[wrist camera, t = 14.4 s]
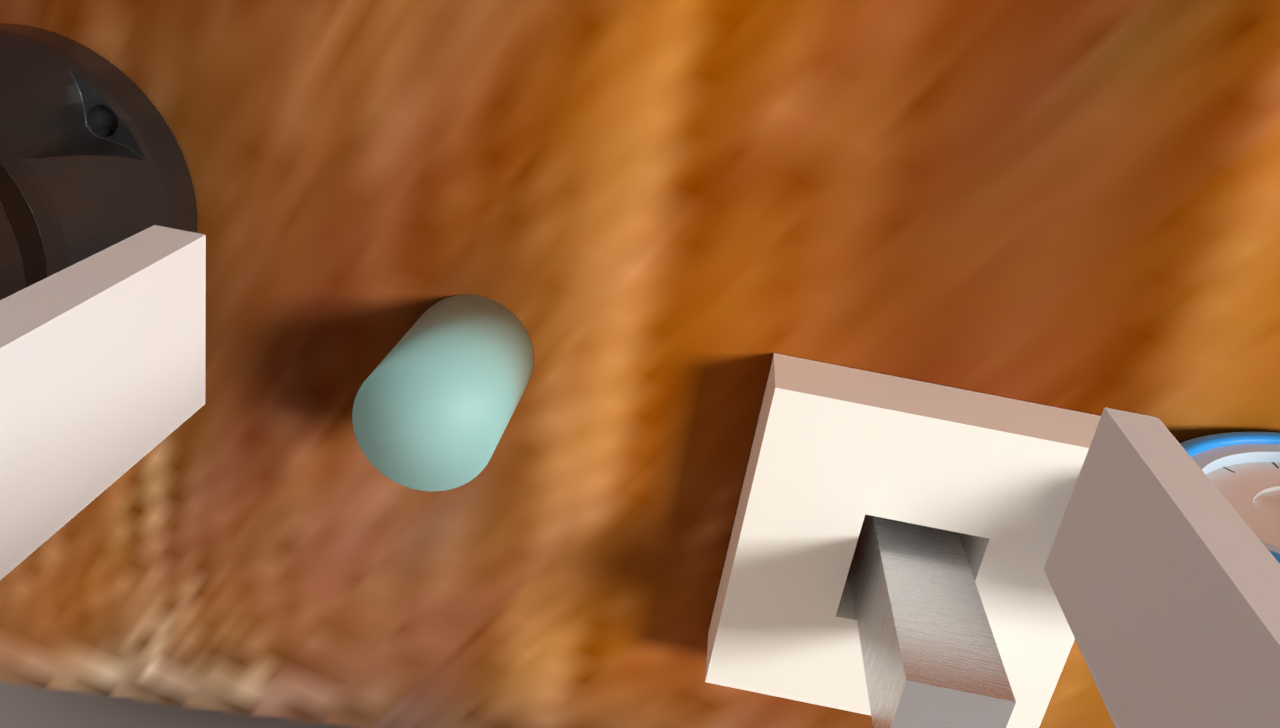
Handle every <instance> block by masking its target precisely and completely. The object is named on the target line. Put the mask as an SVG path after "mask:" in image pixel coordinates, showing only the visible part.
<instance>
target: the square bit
mask: <svg viewBox="0 0 1280 728" xmlns="http://www.w3.org/2000/svg"><path fill="white" fill-rule="evenodd" d="M849 571H850V577H851V584H852V591H853V597H854V604H855V611H856V617H857V624H858V631H859V637H860V644H861V651H862V657H863V664H864V671H865V677H866V684H867V691H868V697H869V704H870V711H871V717H872V724H873V728H1006V727H1007V724H1008V722H1009V719H1010V716H1011V714H1012V711H1013V709H1014V706H1015V704H1016V701H1015V698H1014V695H1013V692H1012V689H1011V686H1010V683H1009V680H1008V677H1007V674H1006V671H1005V668H1004V665H1003V662H1002V659H1001V656H1000V654H999V651H998V648H997V645H996V642H995V639H994V636H993V633H992V630H991V627H990V624H989V621H988V618H987V615H986V612H985V609H984V607H983V604H982V601H981V598H980V595H979V592H978V589H977V586H976V583H975V580H974V577H973V574H972V571H971V568H970V565H969V562H968V560H967V557H966V554H965V551H964V548H963V545H962V542H961V539H960V536H959V533H958V532H952V531H947V530H942V529H937V528H932V527H927V526H922V525H917V524H912V523H907V522H902V521H896V520H891V519H886V518H881V517H876V516H871V515H866V514H865V517H864V521H863V524H862V528H861V531H860V534H859V538H858V541H857V545H856V548H855V552H854V555H853V559H852V562H851V565H850V569H849Z"/></svg>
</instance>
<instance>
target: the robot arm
mask: <svg viewBox="0 0 1280 728" xmlns="http://www.w3.org/2000/svg"><path fill="white" fill-rule="evenodd" d="M205 290H206V235H204V234H199V233H197V210H196V201H195V195H194V190H193V185H192V181H191V177H190V174H189V171H188V168H187V165H186V162H185V159H184V157H183V154H182V152H181V150H180V148H179V146H178V143H177V141H176V139H175V137H174V136H173V134H172V132H171V130H170V128H169V127H168V125H167V124H166V122H165V121H164V119H163V117H162V116H161V114H160V113H159V112H158V110H157V109H156V108H155V106H154V105H153V104H152V103H151V101H150V100H149V99H148V98H147V96H146V95H145V94H144V93H143V92H142V91H141V90H140V89H139V88H138V87H137V86H136V84H135V83H133V82H132V81H131V80H130V79H129V78H128V77H127V76H126V75H125V74H124V73H123V72H121V71H120V70H119V69H118V68H117V67H115V66H114V65H113V64H111V63H110V62H109V61H107V60H106V59H105V58H103V57H102V56H100V55H99V54H97V53H95V52H94V51H92V50H91V49H89V48H87V47H85V46H83V45H81V44H80V43H78V42H75V41H73V40H71V39H69V38H67V37H64V36H61V35H59V34H56V33H53V32H50V31H47V30H43V29H39V28H35V27H30V26H24V25H16V24H0V580H1V579H2V578H3V577H5V576H6V575H7V574H8V573H9V572H10V571H12V570H13V569H14V568H15V567H16V566H17V565H19V564H20V563H21V562H22V561H23V560H24V559H26V558H27V557H28V556H29V555H30V554H31V553H33V552H34V551H35V550H36V549H37V548H38V547H40V546H41V545H42V544H43V543H44V542H45V541H46V540H48V539H49V538H50V537H51V536H52V535H53V534H55V533H56V532H57V531H58V530H59V529H60V528H62V527H63V526H64V525H65V524H66V523H67V522H69V521H70V520H71V519H72V518H73V517H74V516H76V515H77V514H78V513H79V512H80V511H81V510H83V509H84V508H85V507H86V506H87V505H88V504H90V503H91V502H92V501H93V500H94V499H95V498H96V497H98V496H99V495H100V494H101V493H102V492H103V491H105V490H106V489H107V488H108V487H109V486H110V485H112V484H113V483H114V482H115V481H116V480H117V479H119V478H120V477H121V476H122V475H123V474H124V473H126V472H127V471H128V470H129V469H130V468H131V467H133V466H134V465H135V464H136V463H137V462H138V461H140V460H141V459H142V458H143V457H144V456H145V455H146V454H148V453H149V452H150V451H151V450H152V449H153V448H155V447H156V446H157V445H158V444H159V443H160V442H162V441H163V440H164V439H165V438H166V437H167V436H169V435H170V434H171V433H172V432H173V431H174V430H176V429H177V428H178V427H179V426H180V425H181V424H183V423H184V422H185V421H186V420H187V419H188V418H189V417H191V416H192V415H193V414H194V413H195V412H196V411H198V410H199V409H200V408H201V407H202V406H203V405H205ZM1044 571H1045V574H1046V576H1047V578H1048V580H1049V582H1050V585H1051V587H1052V589H1053V591H1054V593H1055V596H1056V598H1057V600H1058V602H1059V604H1060V607H1061V609H1062V611H1063V613H1064V615H1065V618H1066V620H1067V622H1068V624H1069V626H1070V629H1071V631H1072V633H1073V635H1074V637H1075V640H1076V642H1077V644H1078V646H1079V649H1080V651H1081V653H1082V655H1083V657H1084V660H1085V662H1086V664H1087V666H1088V668H1089V671H1090V673H1091V675H1092V677H1093V679H1094V682H1095V684H1096V686H1097V688H1098V690H1099V693H1100V695H1101V697H1102V699H1103V701H1104V704H1105V706H1106V708H1107V710H1108V712H1109V715H1110V717H1111V719H1112V721H1113V723H1114V726H1115V728H1280V563H1279V562H1278V561H1277V560H1276V559H1275V557H1274V556H1273V555H1272V554H1271V553H1270V551H1269V550H1268V549H1267V548H1266V547H1265V545H1264V544H1263V543H1262V542H1261V541H1260V539H1259V538H1258V537H1257V536H1256V535H1255V533H1254V532H1253V531H1252V530H1251V529H1250V527H1249V526H1248V525H1247V524H1246V523H1245V521H1244V520H1243V519H1242V518H1241V517H1240V515H1239V514H1238V513H1237V512H1236V511H1235V509H1234V508H1233V507H1232V506H1231V505H1230V503H1229V502H1228V501H1227V500H1226V498H1225V497H1224V496H1223V495H1222V494H1221V492H1220V491H1219V490H1218V489H1217V488H1216V486H1215V485H1214V484H1213V483H1212V482H1211V480H1210V479H1209V478H1208V477H1207V476H1206V474H1205V473H1204V472H1203V471H1202V470H1201V468H1200V467H1199V466H1198V465H1197V464H1196V462H1195V461H1194V460H1193V459H1192V458H1191V456H1190V455H1189V454H1188V453H1187V452H1186V450H1185V449H1184V448H1183V447H1182V446H1181V444H1180V443H1179V442H1178V441H1177V440H1176V438H1175V437H1174V436H1173V435H1172V434H1171V432H1170V431H1169V430H1168V429H1167V428H1166V426H1165V425H1164V424H1163V423H1162V421H1161V420H1160V419H1159V418H1157V417H1152V416H1146V415H1141V414H1136V413H1131V412H1126V411H1120V410H1115V409H1110V408H1104V410H1103V413H1102V416H1101V418H1100V421H1099V424H1098V426H1097V429H1096V432H1095V434H1094V437H1093V439H1092V442H1091V445H1090V447H1089V450H1088V453H1087V455H1086V458H1085V461H1084V463H1083V466H1082V469H1081V471H1080V474H1079V476H1078V479H1077V482H1076V484H1075V487H1074V490H1073V492H1072V495H1071V498H1070V500H1069V503H1068V506H1067V508H1066V511H1065V513H1064V516H1063V519H1062V521H1061V524H1060V527H1059V529H1058V532H1057V535H1056V537H1055V540H1054V543H1053V545H1052V548H1051V550H1050V553H1049V556H1048V558H1047V561H1046V564H1045V566H1044Z"/></svg>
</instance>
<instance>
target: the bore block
mask: <svg viewBox="0 0 1280 728" xmlns="http://www.w3.org/2000/svg"><path fill="white" fill-rule="evenodd" d="M1100 418H1101V416H1098V415H1093V414H1088V413H1083V412H1078V411H1072V410H1067V409H1062V408H1057V407H1052V406H1046V405H1041V404H1036V403H1031V402H1026V401H1020V400H1015V399H1010V398H1005V397H1000V396H994V395H989V394H984V393H979V392H974V391H968V390H963V389H958V388H953V387H948V386H942V385H937V384H932V383H927V382H922V381H916V380H911V379H906V378H901V377H896V376H890V375H885V374H880V373H875V372H870V371H864V370H859V369H854V368H849V367H844V366H838V365H833V364H828V363H823V362H818V361H812V360H807V359H802V358H797V357H792V356H786V355H781V354H776V353H774V355H773V359H772V363H771V367H770V372H769V376H768V380H767V384H766V389H765V393H764V397H763V401H762V406H761V410H760V414H759V418H758V423H757V427H756V431H755V436H754V440H753V444H752V448H751V453H750V457H749V461H748V465H747V470H746V474H745V478H744V482H743V487H742V491H741V495H740V499H739V504H738V508H737V512H736V516H735V521H734V525H733V529H732V534H731V538H730V542H729V546H728V551H727V555H726V559H725V563H724V568H723V572H722V576H721V580H720V585H719V589H718V593H717V597H716V602H715V606H714V610H713V614H712V619H711V623H710V627H709V632H708V646H707V662H706V677H705V682H708V683H713V684H718V685H723V686H727V687H732V688H737V689H742V690H747V691H752V692H757V693H762V694H767V695H772V696H777V697H782V698H787V699H792V700H797V701H802V702H807V703H812V704H817V705H822V706H827V707H831V708H836V709H841V710H846V711H851V712H856V713H861V714H866V715H871V711H870V704H869V697H868V691H867V684H866V677H865V671H864V664H863V657H862V651H861V644H860V637H859V631H858V624H857V617H856V611H855V604H854V597H853V591H852V584H851V577H850V572H849V569H850V565H851V562H852V559H853V555H854V552H855V548H856V545H857V541H858V538H859V534H860V531H861V528H862V524H863V521H864V517H865V514H866V515H871V516H876V517H881V518H886V519H891V520H896V521H902V522H907V523H912V524H917V525H922V526H927V527H932V528H937V529H942V530H947V531H952V532H958V533H960V534H959V536H960V539H961V542H962V545H963V548H964V551H965V554H966V557H967V560H968V562H969V565H970V568H971V571H972V574H973V577H974V580H975V583H976V586H977V589H978V592H979V595H980V598H981V601H982V604H983V607H984V609H985V612H986V615H987V618H988V621H989V624H990V627H991V630H992V633H993V636H994V639H995V642H996V645H997V648H998V651H999V654H1000V656H1001V659H1002V662H1003V665H1004V668H1005V671H1006V674H1007V677H1008V680H1009V683H1010V686H1011V689H1012V692H1013V695H1014V698H1015V701H1016V704H1015V706H1014V709H1013V711H1012V714H1011V716H1010V719H1009V722H1008V724H1007V727H1006V728H1039V726H1040V724H1041V721H1042V719H1043V716H1044V714H1045V711H1046V709H1047V706H1048V704H1049V701H1050V699H1051V697H1052V694H1053V692H1054V689H1055V687H1056V684H1057V682H1058V679H1059V677H1060V674H1061V672H1062V669H1063V667H1064V664H1065V662H1066V660H1067V657H1068V655H1069V652H1070V650H1071V647H1072V645H1073V642H1074V640H1075V637H1074V635H1073V633H1072V631H1071V629H1070V626H1069V624H1068V622H1067V620H1066V618H1065V615H1064V613H1063V611H1062V609H1061V607H1060V604H1059V602H1058V600H1057V598H1056V596H1055V593H1054V591H1053V589H1052V587H1051V585H1050V582H1049V580H1048V578H1047V576H1046V574H1045V571H1044V566H1045V564H1046V561H1047V558H1048V556H1049V553H1050V550H1051V548H1052V545H1053V543H1054V540H1055V537H1056V535H1057V532H1058V529H1059V527H1060V524H1061V521H1062V519H1063V516H1064V513H1065V511H1066V508H1067V506H1068V503H1069V500H1070V498H1071V495H1072V492H1073V490H1074V487H1075V484H1076V482H1077V479H1078V476H1079V474H1080V471H1081V469H1082V466H1083V463H1084V461H1085V458H1086V455H1087V453H1088V450H1089V447H1090V445H1091V442H1092V439H1093V437H1094V434H1095V432H1096V429H1097V426H1098V424H1099V421H1100Z"/></svg>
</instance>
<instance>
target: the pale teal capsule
mask: <svg viewBox="0 0 1280 728" xmlns="http://www.w3.org/2000/svg"><path fill="white" fill-rule="evenodd" d="M533 366H534V351H533V346H532V342H531V340H530V337H529V334H528V333H527V331H526V329H525V327H524V326H523V324H522V323H521V321H520V320H519V319H518V318H517V317H516V316H515V315H514V314H513V313H512V312H511V311H510V310H509V309H507V308H506V307H504V306H503V305H501V304H499V303H497V302H496V301H493V300H491V299H488V298H485V297H481V296H476V295H457V296H452V297H448V298H445V299H443V300H440V301H438V302H437V303H435V304H433V305H432V306H431V307H429V308H428V309H427V310H426V311H425V312H424V313H423V314H422V315H421V317H420V318H419V319H418V320H417V321H416V322H415V324H414V325H413V326H412V327H411V328H410V329H409V330H408V332H407V333H406V334H405V335H404V336H403V337H402V339H401V340H400V341H399V342H398V343H397V344H396V345H395V347H394V348H393V349H392V350H391V351H390V352H389V353H388V355H387V356H386V357H385V358H384V359H383V360H382V362H381V363H380V364H379V365H378V366H377V367H376V368H375V370H374V371H373V372H372V373H371V374H370V375H369V377H368V378H367V379H366V380H365V381H364V382H363V384H362V385H361V387H360V388H359V390H358V393H357V395H356V397H355V401H354V404H353V411H352V422H353V429H354V433H355V436H356V439H357V442H358V444H359V446H360V448H361V450H362V451H363V453H364V455H365V456H366V457H367V459H368V460H369V461H370V463H371V464H372V465H373V466H374V467H375V468H376V469H377V470H379V471H380V472H381V473H382V474H383V475H385V476H386V477H388V478H389V479H391V480H393V481H395V482H397V483H399V484H401V485H403V486H406V487H409V488H413V489H416V490H422V491H445V490H449V489H454V488H456V487H459V486H462V485H464V484H466V483H468V482H469V481H471V480H472V479H474V478H475V477H476V476H477V475H478V474H479V473H480V472H481V471H482V470H483V469H484V468H485V466H486V465H487V464H488V462H489V460H490V458H491V456H492V454H493V452H494V450H495V448H496V446H497V444H498V442H499V440H500V438H501V436H502V434H503V432H504V430H505V428H506V426H507V424H508V422H509V420H510V418H511V416H512V414H513V412H514V410H515V408H516V406H517V404H518V402H519V400H520V398H521V396H522V394H523V392H524V390H525V388H526V386H527V384H528V382H529V380H530V378H531V375H532V371H533Z"/></svg>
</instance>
